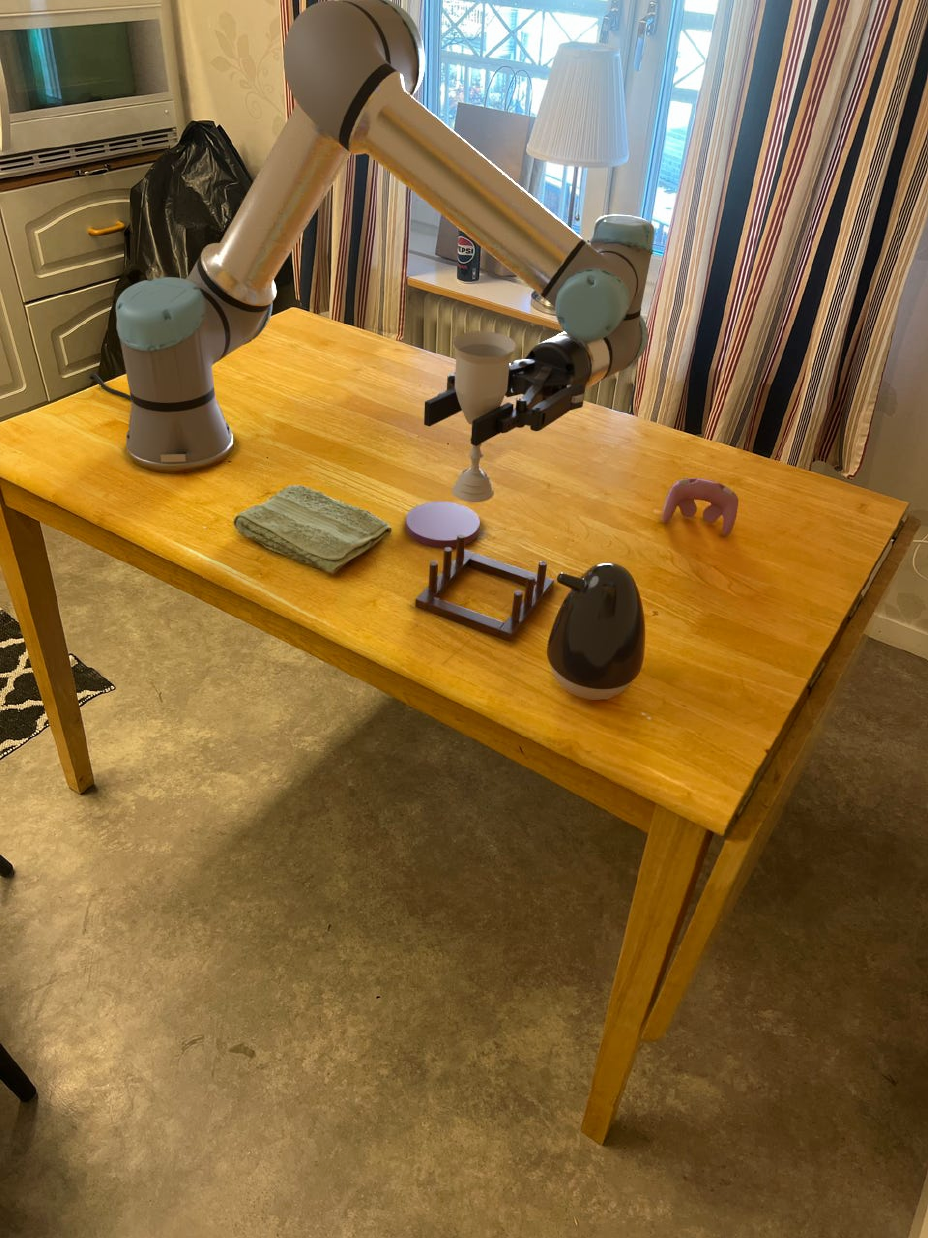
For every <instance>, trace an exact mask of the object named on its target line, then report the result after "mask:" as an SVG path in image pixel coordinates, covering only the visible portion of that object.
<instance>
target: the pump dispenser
mask: <svg viewBox="0 0 928 1238" xmlns="http://www.w3.org/2000/svg"><path fill="white" fill-rule="evenodd" d="M556 582H557V583H558V584H560V585H562V586H564V587H567V588H569V589H570V590H569V591H568V593H567V595H566V596H565V598H564V600H563V601H562V603H561V606H560V607H559V609H558V612H557V613H556V616H555V618H554V621H553V623H552V627H551V630H550V633H549V637H548V641H547V648H546V657H547V660H548V663H549V665H550V668H551V672H552V674H553V676H554V679H556V681H557V683H558V684H559V685H560V686H561V687H562V688H563V689H564V690H565V691H567V692H569V693H570V694H572V695H573V696H576V697H578V698H580V699H584V700H593V701H601V700H607V699H611V698H613V697H616V696H618V695H619V694H621V693H623V692H624V691H625V690H626V689H628V687H629V686H630V685H631V684H632V683H633V681H634V680H636V678H637V677H638V676H639V674H640V673H641V671H642V668H643V664H644V661H645V660H644V659H645V649H646V619H645V612H644V607H643V602H642V598H641V594H640V591H639V588H638V585H637V583H636V581H635V578H634V577H633V575H632V574H631V572H630V571H629V570H627V569H626V568H625V567H624V566H623V565H621V564H618V563H614V562H600V563H597V564H594V565H592V566H591V567H589V568H588V569H587V570H586V571H584V572H583V574H582V575H581V576H575V575H571V574H568V573H564V572H560V573H558V574H557V577H556Z"/></svg>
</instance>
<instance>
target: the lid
mask: <svg viewBox="0 0 928 1238" xmlns="http://www.w3.org/2000/svg"><path fill="white" fill-rule="evenodd" d="M480 528H481V521H480V517H479V515H478V514H477V513H476V512H475V511H474V510H473V509H471V508H469V507H468V506H466V505H463V504H460V503H457V502H453V501H445V500H443V501H442V500H436V501H428V502H427V501H426V502H423V503H420V504H418V505H416V506H414V507H412V508H410V510H409V511H408V512H407V514H406V516H405V531H406V533H407V535H408V536H409V537H410V538H411V539H412V540H414V541H415V542H417V543H419V544H421V545H424V546H427V547H431V548H436V549H444V548H446V547H450V548H451V549H455V548H457V536H458V535H459V534H464V535H465V546H466V545H467V544H470V543H472V542H474V541H475V539H477V537H478V536H479V533H480Z"/></svg>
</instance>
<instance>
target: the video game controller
mask: <svg viewBox="0 0 928 1238" xmlns="http://www.w3.org/2000/svg"><path fill="white" fill-rule="evenodd" d="M695 501H704V502H707V503H710V504H709V505H708V506H706V507H705V508H704V509H703V511H702V518H703V520H704V521H706V523H710V524H712V523H715V522H717V521H718V519H720V518H721V516H722V517H723V520H722V521H723V522H722V535H723V536H724V537H728V536H730V534H731V533H732V531H733V529H734V527H735V526H734V525H735V522H736V519H737V515H738V508H739V498H738V496H737V493H735V491H733V490H732V489H731V488H730V487H728V486H726V485H725V484H722V483H720V482H717V481H715V480H711V479H707V478H699V477H698V478H693V477H692V478H682V479H679V480H678V481H675V482H674V483H673V484H672V485H671V486H670V488H669V490H668V492H667V495H666V497H665V501H664V504H663V505H664V506H663V511H662V521H663V523H664V524H668V523H669V522H670V521H671V519H672V518H673V516H674V514H675V512H676V509H677V508H679V512H680V514H681V515H682V516H683V517H684V518H692V517H694V516H695V515H696V514H697V511H698V505H697V504H696V502H695Z"/></svg>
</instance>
